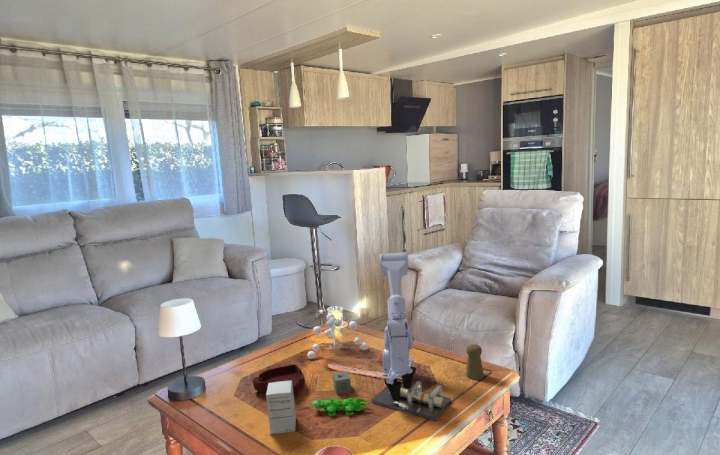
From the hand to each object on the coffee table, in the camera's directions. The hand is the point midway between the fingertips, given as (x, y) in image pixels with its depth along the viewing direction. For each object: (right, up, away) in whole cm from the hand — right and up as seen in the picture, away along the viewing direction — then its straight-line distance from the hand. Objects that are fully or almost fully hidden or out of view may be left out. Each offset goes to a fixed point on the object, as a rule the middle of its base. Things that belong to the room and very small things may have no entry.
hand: (401, 394), depth 146 cm
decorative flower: (-26, +3, +41) cm, 49 cm away
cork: (+27, +2, +12) cm, 29 cm away
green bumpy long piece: (-19, -4, -3) cm, 20 cm away
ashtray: (-40, -3, +14) cm, 42 cm away
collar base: (+3, -2, -2) cm, 4 cm away
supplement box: (-36, -6, -10) cm, 38 cm away
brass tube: (+5, +1, -3) cm, 6 cm away
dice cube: (-19, -2, +9) cm, 21 cm away
